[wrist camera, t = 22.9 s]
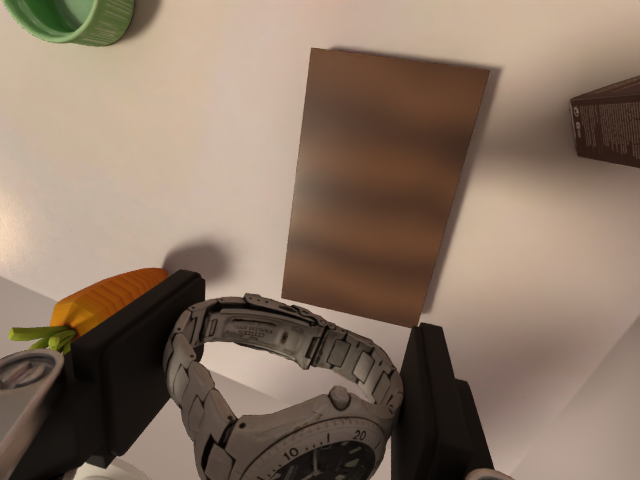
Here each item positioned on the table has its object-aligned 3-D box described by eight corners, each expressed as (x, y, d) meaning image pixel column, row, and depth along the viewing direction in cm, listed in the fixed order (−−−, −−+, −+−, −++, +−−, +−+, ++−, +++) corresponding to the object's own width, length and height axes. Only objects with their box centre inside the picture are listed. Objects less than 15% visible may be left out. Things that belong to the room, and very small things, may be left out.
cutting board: (414, 314, 31) (416, 329, 29) (288, 285, 33) (281, 298, 31) (480, 75, 25) (490, 70, 22) (318, 54, 26) (311, 47, 24)
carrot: (142, 245, 35) (-24, 325, 21) (187, 254, 34) (45, 342, 20) (145, 289, 37) (-7, 390, 23) (188, 298, 36) (58, 408, 22)
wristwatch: (376, 408, 11) (365, 611, 6) (203, 334, 12) (77, 474, 7) (423, 322, 10) (451, 497, 5) (227, 243, 10) (92, 339, 6)
